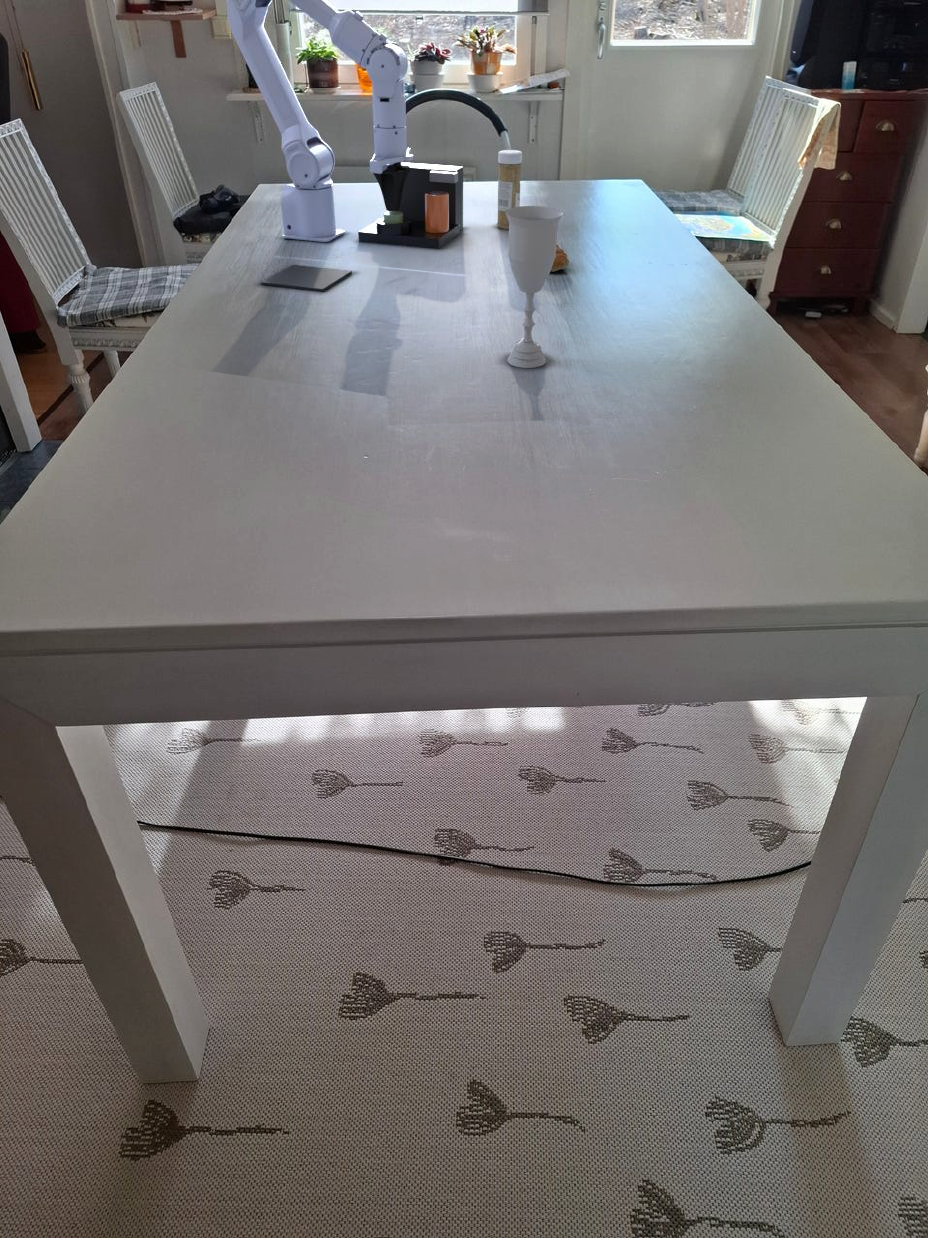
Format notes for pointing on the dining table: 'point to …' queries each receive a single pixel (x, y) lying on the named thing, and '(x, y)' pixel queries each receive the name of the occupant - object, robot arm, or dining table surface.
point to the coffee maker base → (407, 234)
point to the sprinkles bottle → (508, 184)
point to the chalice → (531, 269)
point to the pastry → (560, 260)
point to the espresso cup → (437, 211)
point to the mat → (307, 278)
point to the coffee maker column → (432, 180)
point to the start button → (393, 217)
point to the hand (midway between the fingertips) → (392, 209)
